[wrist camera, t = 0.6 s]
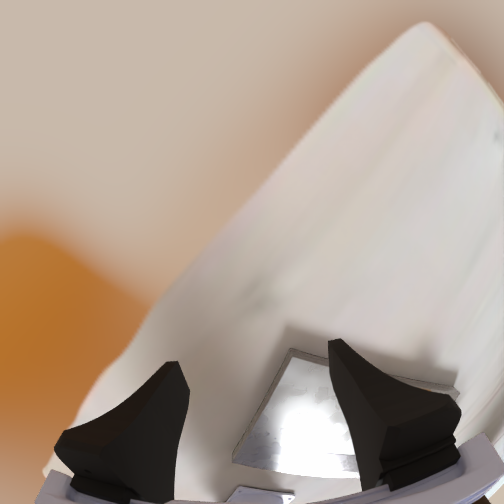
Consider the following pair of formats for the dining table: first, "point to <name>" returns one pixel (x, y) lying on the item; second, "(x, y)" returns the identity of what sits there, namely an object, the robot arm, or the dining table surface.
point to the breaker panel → (305, 422)
